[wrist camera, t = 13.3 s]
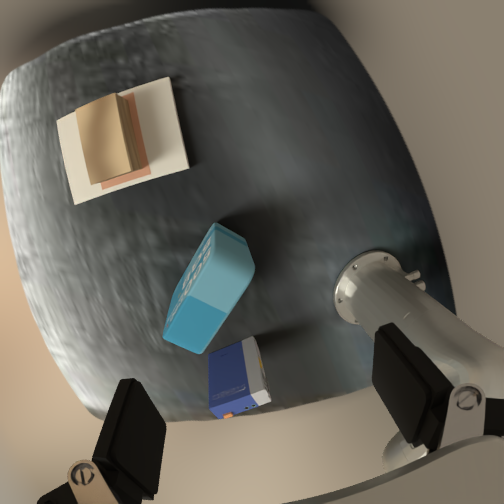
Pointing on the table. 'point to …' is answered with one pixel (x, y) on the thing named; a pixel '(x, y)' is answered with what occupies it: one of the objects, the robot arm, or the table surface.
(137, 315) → the table surface
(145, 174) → the plate
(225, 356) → the walkman
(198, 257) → the data package
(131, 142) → the tan cardboard box
